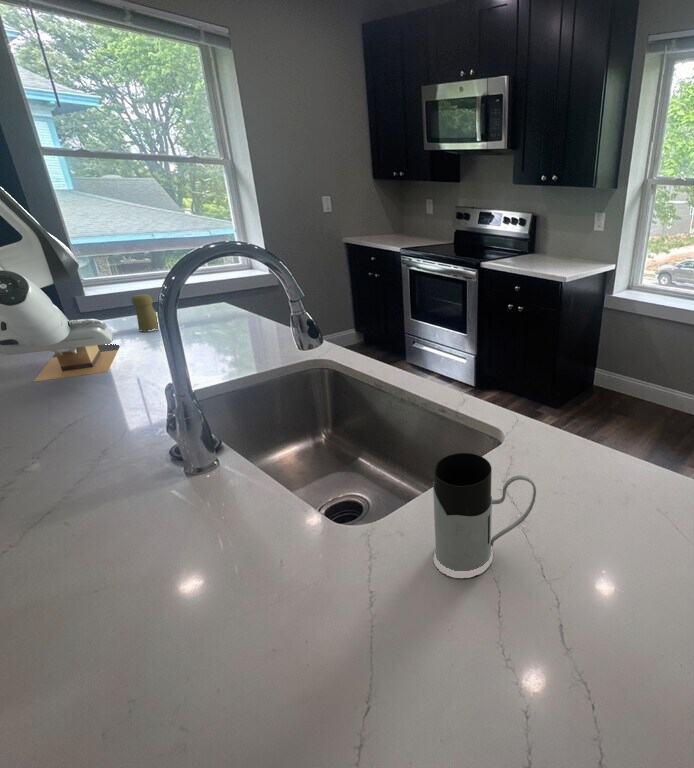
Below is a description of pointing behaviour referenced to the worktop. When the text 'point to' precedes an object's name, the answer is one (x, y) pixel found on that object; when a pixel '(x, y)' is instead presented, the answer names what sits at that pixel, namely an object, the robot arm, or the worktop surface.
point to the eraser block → (79, 358)
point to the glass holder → (466, 510)
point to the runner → (100, 366)
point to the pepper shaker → (145, 312)
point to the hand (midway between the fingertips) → (69, 351)
